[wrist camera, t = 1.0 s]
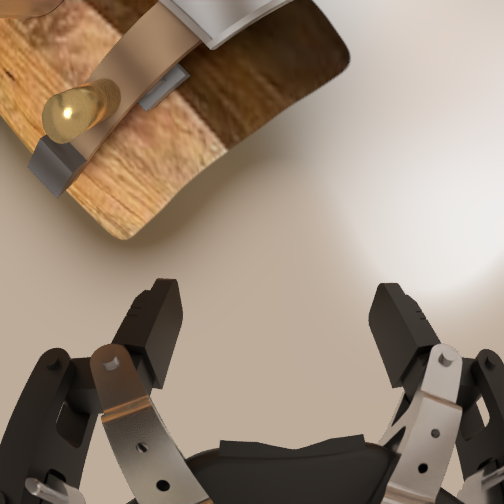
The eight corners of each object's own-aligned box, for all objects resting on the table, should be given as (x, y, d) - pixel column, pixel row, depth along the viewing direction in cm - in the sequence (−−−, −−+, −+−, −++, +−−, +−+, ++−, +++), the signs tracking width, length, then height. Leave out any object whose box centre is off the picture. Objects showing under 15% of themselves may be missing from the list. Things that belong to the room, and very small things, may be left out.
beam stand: (154, 107, 29) (137, 114, 23) (116, 68, 25) (93, 68, 19) (190, 75, 27) (181, 74, 22) (150, 35, 23) (133, 27, 18)
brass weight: (104, 126, 23) (63, 153, 18) (80, 100, 20) (36, 122, 15) (128, 96, 21) (87, 116, 16) (102, 69, 19) (56, 84, 13)
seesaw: (84, 187, 30) (65, 206, 26) (42, 143, 25) (20, 159, 22) (302, -3, 15) (308, -14, 11) (237, -62, 10) (230, -80, 7)
